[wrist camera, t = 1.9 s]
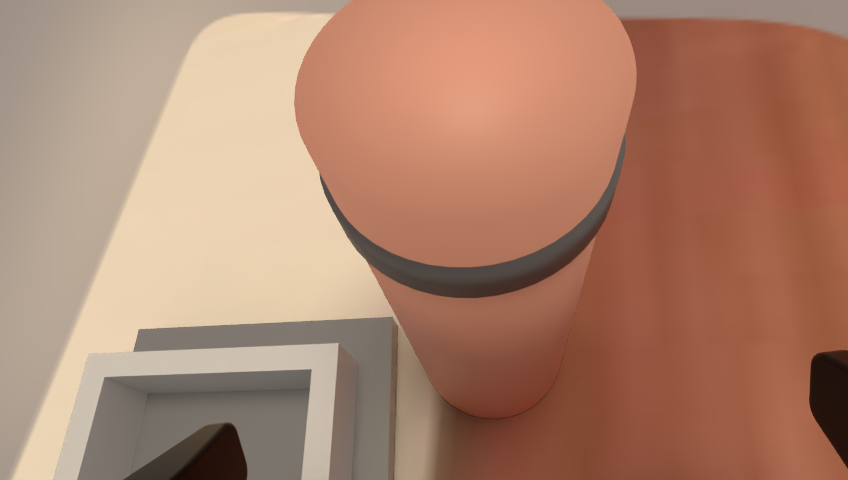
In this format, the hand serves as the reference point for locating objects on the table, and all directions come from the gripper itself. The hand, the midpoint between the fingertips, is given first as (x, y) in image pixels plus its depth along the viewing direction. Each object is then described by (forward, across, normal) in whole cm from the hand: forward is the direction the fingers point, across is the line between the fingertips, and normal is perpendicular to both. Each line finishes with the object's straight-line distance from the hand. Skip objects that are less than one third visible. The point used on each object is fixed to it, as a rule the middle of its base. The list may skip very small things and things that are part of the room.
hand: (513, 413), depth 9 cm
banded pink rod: (+11, 0, +5) cm, 12 cm away
